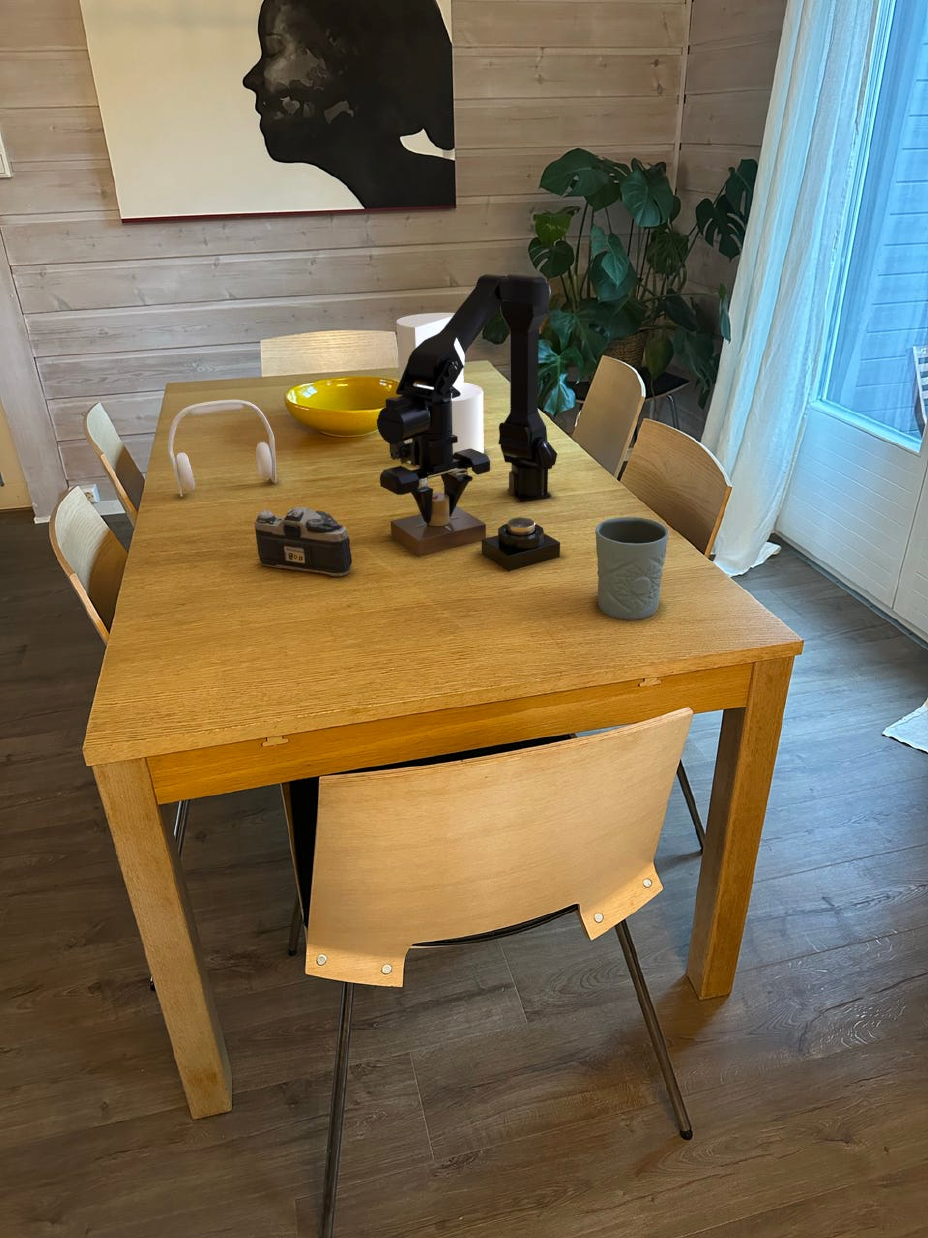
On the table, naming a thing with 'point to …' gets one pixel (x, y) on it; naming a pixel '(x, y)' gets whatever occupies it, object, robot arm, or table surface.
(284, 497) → the table surface
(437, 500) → the volume knob
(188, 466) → the headset
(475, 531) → the console
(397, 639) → the table surface
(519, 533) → the power button
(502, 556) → the switch block
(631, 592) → the grey embossed cup
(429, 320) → the cylinder
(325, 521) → the camera
